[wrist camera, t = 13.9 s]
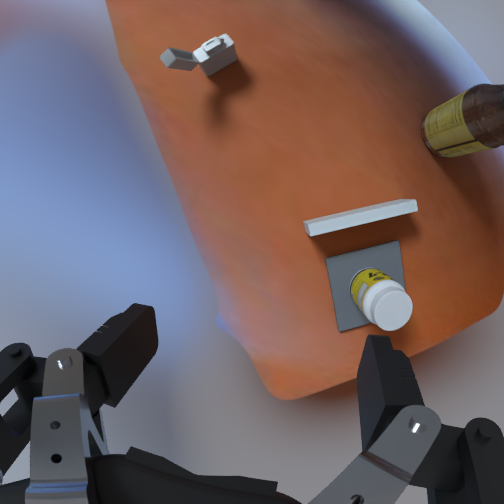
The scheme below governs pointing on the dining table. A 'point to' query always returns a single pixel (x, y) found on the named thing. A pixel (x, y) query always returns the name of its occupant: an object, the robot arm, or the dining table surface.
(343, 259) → the coaster
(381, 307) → the supplement bottle
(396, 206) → the wall
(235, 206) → the dining table surface
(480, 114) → the sauce bottle
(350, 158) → the dining table surface
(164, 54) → the lighter
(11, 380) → the robot arm
